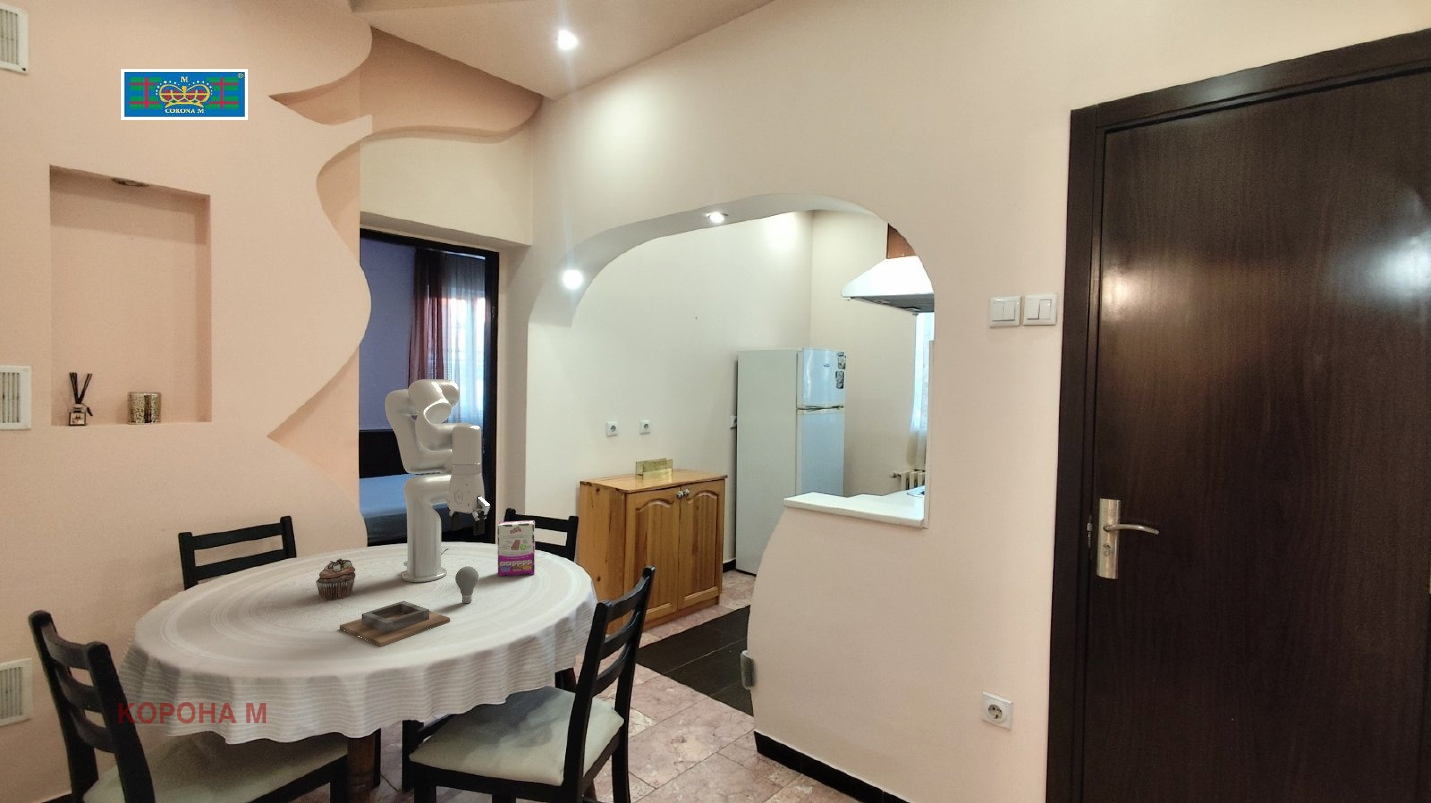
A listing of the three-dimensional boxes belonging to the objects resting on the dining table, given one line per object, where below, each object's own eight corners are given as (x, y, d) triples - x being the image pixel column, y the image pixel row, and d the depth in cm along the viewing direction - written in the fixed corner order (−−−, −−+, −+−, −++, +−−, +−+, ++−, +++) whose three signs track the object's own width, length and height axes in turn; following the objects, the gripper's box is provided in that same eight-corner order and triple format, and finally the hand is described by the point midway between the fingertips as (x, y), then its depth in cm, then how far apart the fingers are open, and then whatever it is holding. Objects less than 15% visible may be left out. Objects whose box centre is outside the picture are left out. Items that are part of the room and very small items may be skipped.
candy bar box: (535, 570, 205) (535, 519, 205) (534, 574, 201) (534, 523, 200) (498, 572, 203) (498, 521, 202) (497, 577, 198) (497, 524, 197)
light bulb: (483, 600, 178) (483, 565, 177) (468, 607, 172) (468, 571, 172) (465, 597, 180) (465, 562, 179) (450, 604, 174) (450, 568, 173)
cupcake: (334, 588, 186) (334, 554, 185) (363, 591, 184) (363, 557, 183) (307, 599, 176) (307, 564, 176) (337, 602, 174) (337, 566, 174)
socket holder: (339, 629, 156) (339, 615, 156) (408, 607, 172) (408, 594, 172) (381, 646, 147) (381, 631, 147) (450, 621, 162) (450, 608, 162)
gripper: (435, 469, 175) (435, 530, 176) (475, 474, 166) (476, 539, 167) (458, 466, 182) (459, 525, 182) (499, 470, 173) (499, 533, 173)
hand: (467, 531), depth 175 cm, fingers open, 9 cm apart
